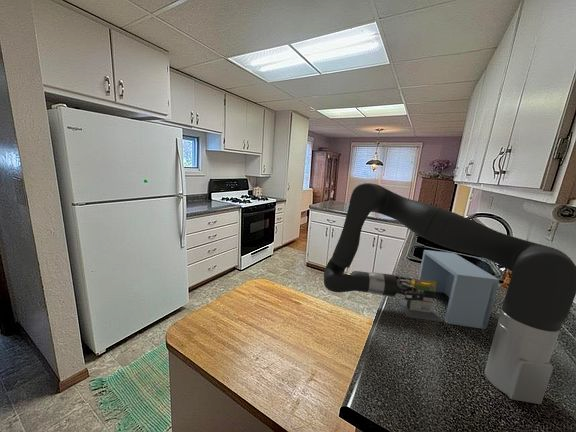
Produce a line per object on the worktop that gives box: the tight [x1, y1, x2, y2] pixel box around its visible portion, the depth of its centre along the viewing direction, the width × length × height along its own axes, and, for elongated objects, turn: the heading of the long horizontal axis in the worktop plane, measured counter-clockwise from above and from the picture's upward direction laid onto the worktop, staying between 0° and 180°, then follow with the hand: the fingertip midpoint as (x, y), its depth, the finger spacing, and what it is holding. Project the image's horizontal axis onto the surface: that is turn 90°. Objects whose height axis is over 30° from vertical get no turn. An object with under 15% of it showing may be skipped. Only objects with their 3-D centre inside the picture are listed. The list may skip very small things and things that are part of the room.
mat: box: [397, 299, 443, 323], centre depth 84 cm, size 10×11×1 cm
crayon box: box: [406, 278, 437, 313], centre depth 83 cm, size 7×3×12 cm, turn 83°
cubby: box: [417, 249, 500, 330], centre depth 88 cm, size 25×12×17 cm, turn 172°
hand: (430, 290), depth 82 cm, fingers open, 5 cm apart
